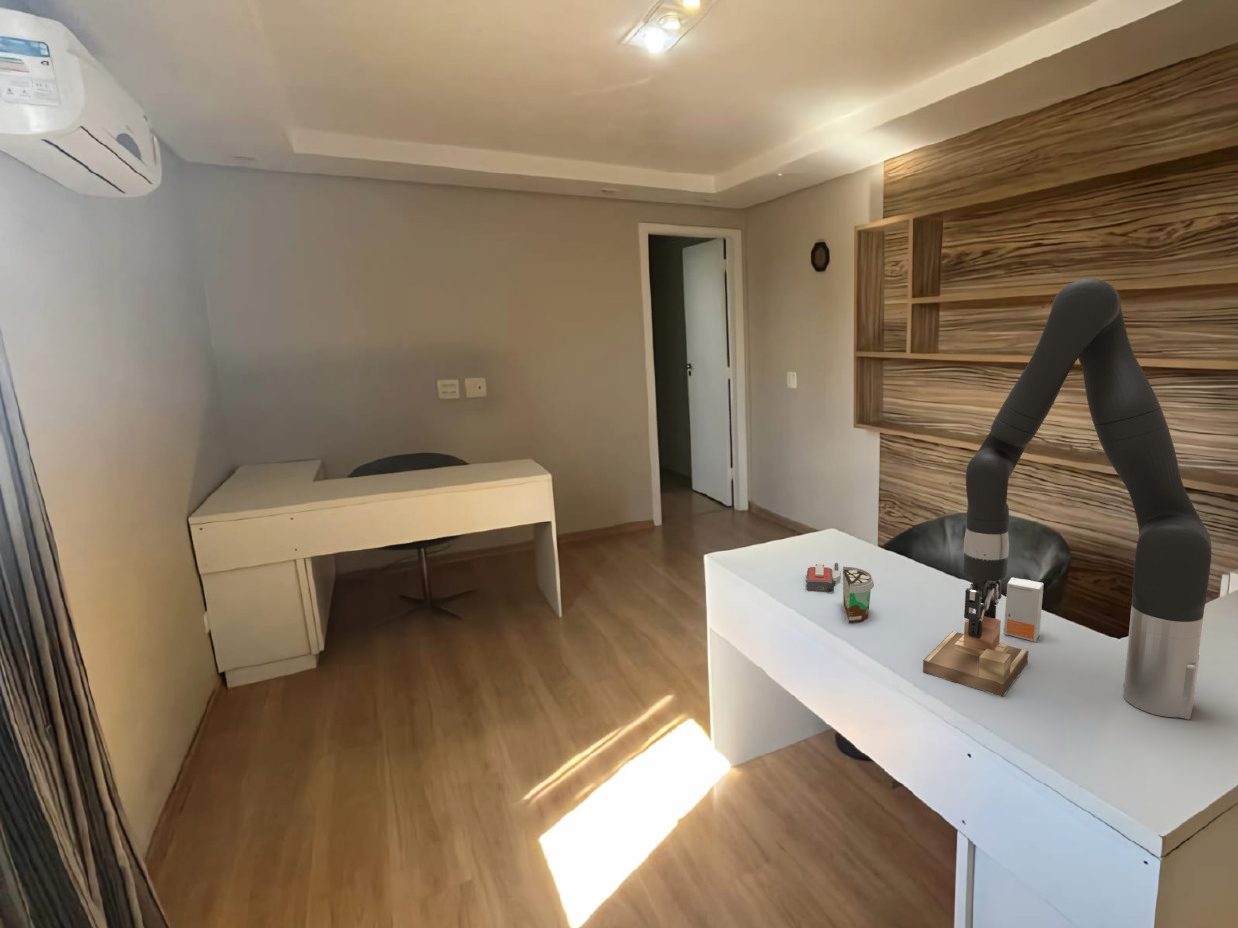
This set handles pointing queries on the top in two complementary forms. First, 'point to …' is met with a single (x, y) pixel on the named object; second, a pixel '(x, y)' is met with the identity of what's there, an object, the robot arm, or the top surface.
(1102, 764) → the top surface
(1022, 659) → the dock
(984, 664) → the light brown wooden cube
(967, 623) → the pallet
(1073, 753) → the top surface
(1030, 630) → the skincare box
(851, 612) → the food container
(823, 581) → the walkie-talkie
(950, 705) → the top surface
